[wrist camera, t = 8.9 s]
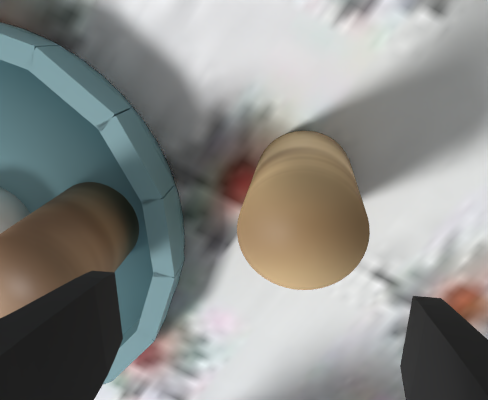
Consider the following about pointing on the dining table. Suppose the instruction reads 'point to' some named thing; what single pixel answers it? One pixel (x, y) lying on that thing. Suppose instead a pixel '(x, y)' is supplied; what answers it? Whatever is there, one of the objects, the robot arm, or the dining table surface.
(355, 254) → the oak bead
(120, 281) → the ring tray
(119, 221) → the brown wooden peg
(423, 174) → the dining table surface
